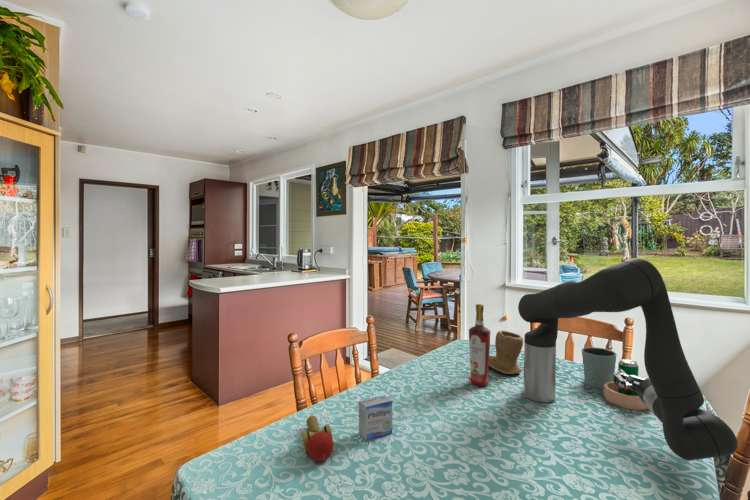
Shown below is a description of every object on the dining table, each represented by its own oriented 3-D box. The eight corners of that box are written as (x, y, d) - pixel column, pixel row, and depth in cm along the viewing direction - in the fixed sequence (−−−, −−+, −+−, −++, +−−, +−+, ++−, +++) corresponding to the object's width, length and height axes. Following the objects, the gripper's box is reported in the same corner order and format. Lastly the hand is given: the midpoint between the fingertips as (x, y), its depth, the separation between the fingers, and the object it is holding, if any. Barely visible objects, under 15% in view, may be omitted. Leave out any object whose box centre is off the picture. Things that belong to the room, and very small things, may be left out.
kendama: (294, 434, 93) (302, 466, 76) (298, 409, 94) (307, 435, 77) (323, 435, 95) (337, 465, 78) (326, 410, 96) (341, 435, 79)
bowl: (609, 406, 105) (610, 393, 105) (600, 390, 116) (600, 379, 116) (656, 412, 101) (657, 399, 101) (642, 396, 112) (642, 384, 112)
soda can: (641, 404, 105) (642, 364, 105) (622, 402, 106) (623, 363, 106) (632, 396, 110) (633, 359, 110) (614, 395, 111) (615, 358, 111)
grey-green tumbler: (621, 387, 120) (621, 352, 120) (608, 394, 114) (608, 358, 114) (589, 377, 128) (590, 345, 128) (575, 383, 123) (576, 350, 122)
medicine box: (365, 441, 87) (365, 407, 87) (358, 433, 91) (358, 400, 91) (393, 433, 91) (392, 400, 90) (384, 425, 95) (384, 394, 94)
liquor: (464, 384, 122) (465, 304, 122) (474, 378, 128) (474, 302, 128) (485, 389, 118) (485, 307, 117) (493, 383, 123) (493, 304, 123)
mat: (606, 406, 105) (606, 405, 105) (597, 392, 116) (597, 391, 116) (659, 414, 101) (659, 412, 101) (645, 398, 111) (645, 397, 111)
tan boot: (530, 374, 131) (530, 335, 131) (503, 378, 128) (503, 337, 128) (504, 361, 146) (504, 326, 146) (479, 364, 142) (479, 328, 142)
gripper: (700, 388, 80) (669, 364, 95) (627, 380, 85) (608, 358, 100) (699, 420, 81) (668, 391, 96) (626, 410, 86) (608, 384, 101)
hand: (638, 374), depth 98 cm, fingers open, 8 cm apart
